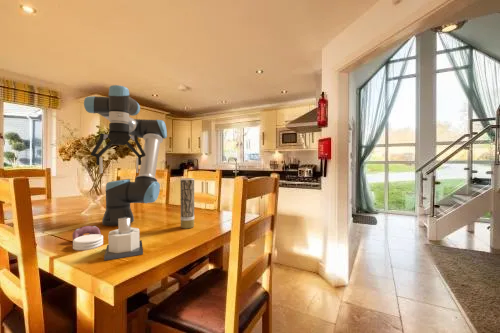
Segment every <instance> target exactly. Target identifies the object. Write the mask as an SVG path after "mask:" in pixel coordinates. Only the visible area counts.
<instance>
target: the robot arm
mask: <svg viewBox="0 0 500 333" xmlns="http://www.w3.org/2000/svg"><path fill="white" fill-rule="evenodd" d="M83 107H84V109H85V112H86V113H88V114H97V115H98V114H99V116H101V117H102V118H105V119H106V120H108V122H109V123H108V134H104V133H100V135H99V140H98V141H97V142H96V144H95V146H94V148H93V149H92V151H91V153H90V156H92V157H95V161H96V162H95V163H96V165H97V166H99V174H103V157H101V156H103V155H104V153H106V151H108V149H110V148H111V147H112V146H113V145H114V146H125V145H126V146H127V147H128V148H129V149H130V150H131V152H132V153H133V154H135V156H137V157H136V159H135V160H136V162H135V164H136V173H137V174H138V175H136V177H134V178H135V179H134V181H131V180H130V178H128V179H121V180H120V179H118V180H112V181H108V182H107V183H106V184H105V189H104V190H105V211H104V214H103V217H102V222H101V223H102V225H103V226H107V227H108V226H109V227H110V226H111V227H112V226H113V227H115V226H118V219H119V218H122V217H130V224H131V223H133V222H134V221H135V217H134V214H133V211H132V208H131V204H148V203H149V204H152V203H155V202H156V201H157V199H158V198H159V195H160V191H161V190H160V187H161V185H160V183H159V181H158V179H157V178H156V174H157V168H158V157H159V152H160V147H161V146H160V145H161V144H162V143H163V141H164V139H166V138H168V132H167V131H168V130H167V126H166V123H165V121H164V120H163V119H143V118H139V119H138V118H137V119H136V118H133V117H134V116H136V115H139V113H140V111H141V106H140V103H138V102H137V100H135V99H133V98H132V97H131V96H130V90H129V88H128V87H126V86H124V85H119V84H118V85H116V84H115V85H114V84H113V85H110V86H109V88H108V96H95V95H93V96H92V95H90V96H86V97H85V98H84V100H83ZM130 116H133V117H130ZM107 138H108V140H110V141H109V142H108V143H107V144H106V145H105V146H104V147H103V148H101V150H100V151H99V152H98V150H99V149H100V147H101V146H102V144H103V143H104V140H106V139H107ZM138 138H139V139H143V141H144V145H143V147H142V146H141V144H140V142H139V140H138ZM130 140H132V141H134V143H135V144H136V146H137V148H138V150H139V151H137V149H135V148H134V147H133V145H132V144H131V143H130V142H129V141H130ZM97 152H98V153H97ZM139 152H140V153H139ZM139 166H140V168H139Z"/></svg>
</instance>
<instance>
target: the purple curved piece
mask: <svg viewBox="0 0 500 333" xmlns="http://www.w3.org/2000/svg"><path fill="white" fill-rule="evenodd" d="M87 234H88V235H90V234H100V235H102V234H101V230H100V228H99V227H98V226H96V225H87V226H82V227H79V228H76V229H75V230H74V231H73V232H72V241H73V240H74V239H75V238H77V237H80V236H84V235H87Z"/></svg>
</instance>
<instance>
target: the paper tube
mask: <svg viewBox="0 0 500 333" xmlns="http://www.w3.org/2000/svg"><path fill="white" fill-rule="evenodd" d="M194 227H195V178H193V177H183V178H182V177H181V178H180V228H182V229H192V228H194Z"/></svg>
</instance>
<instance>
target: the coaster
mask: <svg viewBox="0 0 500 333" xmlns="http://www.w3.org/2000/svg"><path fill="white" fill-rule="evenodd" d="M89 234H90V233H89ZM89 234H83V235H84V236H80V237H77V238H75V239H74V240H73V239H72V249H73V250H75V251H87V250H93V249H97V248H100V247H102V245H104V235H103V234H101V235H100V234H90V235H89Z"/></svg>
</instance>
